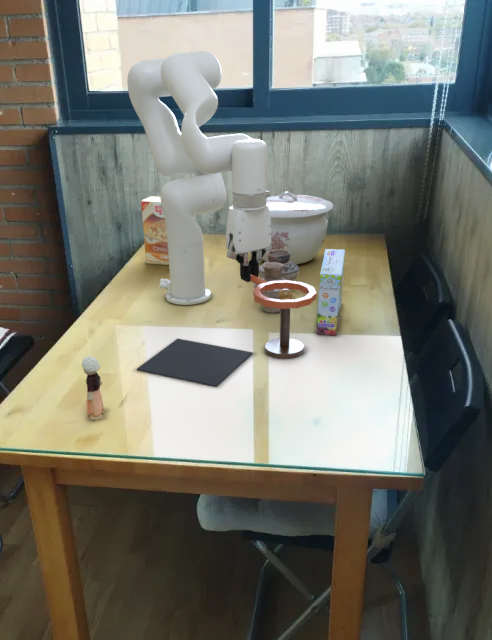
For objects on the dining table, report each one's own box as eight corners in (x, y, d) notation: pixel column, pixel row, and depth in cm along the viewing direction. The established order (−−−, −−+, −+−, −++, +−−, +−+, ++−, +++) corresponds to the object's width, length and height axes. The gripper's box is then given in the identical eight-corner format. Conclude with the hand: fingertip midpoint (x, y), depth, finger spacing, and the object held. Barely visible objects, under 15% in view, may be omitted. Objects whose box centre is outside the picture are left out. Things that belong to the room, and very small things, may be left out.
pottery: (249, 315, 179) (249, 270, 173) (260, 283, 200) (260, 242, 194) (293, 316, 177) (294, 271, 171) (299, 284, 198) (301, 242, 192)
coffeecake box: (145, 263, 220) (139, 200, 210) (155, 256, 226) (150, 195, 216) (188, 267, 215) (184, 203, 205) (197, 260, 221) (194, 197, 211)
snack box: (338, 336, 165) (342, 275, 158) (315, 335, 166) (317, 274, 159) (342, 304, 183) (345, 247, 175) (320, 303, 184) (323, 247, 176)
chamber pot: (330, 273, 204) (334, 202, 194) (238, 272, 209) (236, 202, 198) (331, 246, 228) (334, 181, 217) (248, 245, 232) (248, 181, 222)
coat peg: (258, 355, 158) (258, 293, 151) (274, 340, 165) (274, 280, 157) (295, 361, 154) (297, 298, 147) (309, 346, 161) (312, 285, 153)
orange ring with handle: (328, 299, 151) (328, 292, 151) (278, 313, 145) (278, 306, 145) (264, 271, 169) (264, 264, 168) (217, 282, 163) (217, 275, 162)
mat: (136, 370, 154) (136, 368, 154) (177, 340, 167) (177, 338, 167) (216, 387, 145) (216, 385, 145) (252, 353, 159) (252, 352, 159)
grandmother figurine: (88, 407, 140) (80, 350, 133) (107, 405, 140) (100, 348, 134) (85, 426, 133) (76, 367, 127) (105, 425, 134) (97, 365, 127)
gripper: (268, 191, 160) (267, 268, 169) (210, 202, 153) (212, 282, 162) (288, 197, 154) (285, 277, 164) (229, 208, 147) (230, 291, 157)
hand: (249, 279), depth 163 cm, fingers closed on orange ring with handle, 1 cm apart
